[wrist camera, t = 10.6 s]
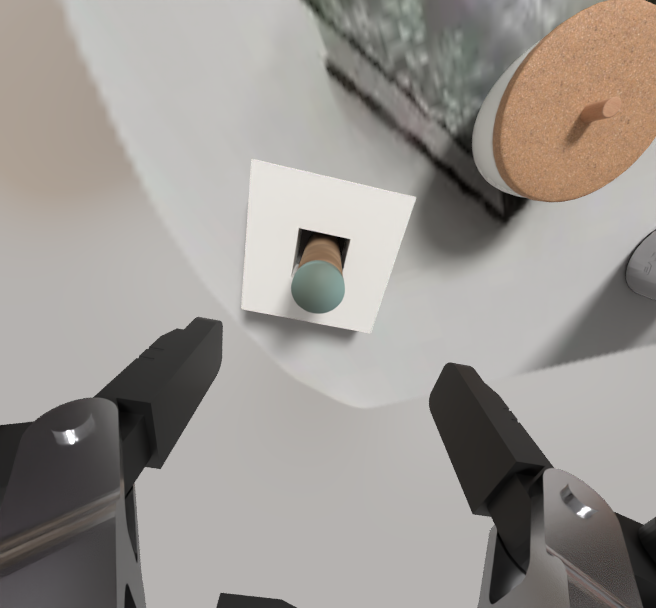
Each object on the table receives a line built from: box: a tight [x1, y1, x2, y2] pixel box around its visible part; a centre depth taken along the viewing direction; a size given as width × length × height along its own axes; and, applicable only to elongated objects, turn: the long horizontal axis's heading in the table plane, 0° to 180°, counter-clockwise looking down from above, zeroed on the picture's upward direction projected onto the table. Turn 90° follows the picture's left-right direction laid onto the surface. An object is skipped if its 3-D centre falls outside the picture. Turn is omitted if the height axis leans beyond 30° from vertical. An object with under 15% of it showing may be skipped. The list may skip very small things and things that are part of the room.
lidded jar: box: [472, 0, 656, 202], centre depth 19 cm, size 11×11×9 cm
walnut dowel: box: [291, 232, 345, 314], centre depth 23 cm, size 4×4×12 cm
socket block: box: [241, 159, 416, 333], centre depth 26 cm, size 14×14×4 cm
